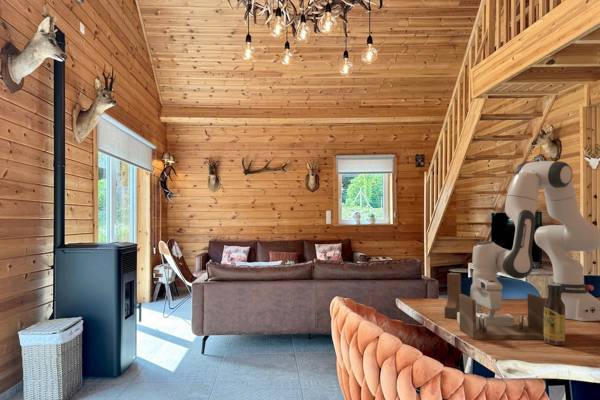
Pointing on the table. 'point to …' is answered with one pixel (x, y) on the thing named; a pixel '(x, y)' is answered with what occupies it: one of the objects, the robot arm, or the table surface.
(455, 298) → the wooden block
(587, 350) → the table surface
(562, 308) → the sauce bottle
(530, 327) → the brown open-topped frame
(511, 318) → the white rectangular block
